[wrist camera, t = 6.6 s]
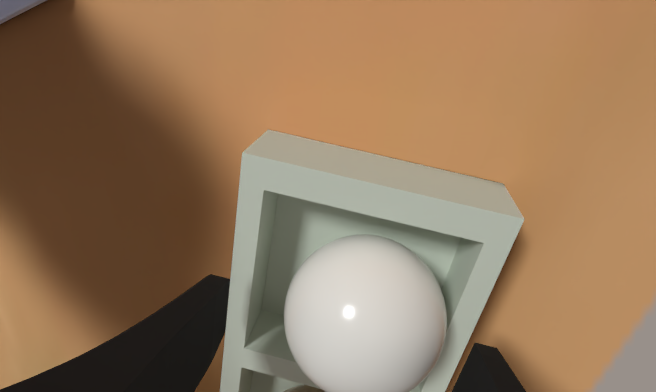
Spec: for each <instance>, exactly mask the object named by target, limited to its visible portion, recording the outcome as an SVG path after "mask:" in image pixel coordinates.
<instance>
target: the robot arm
mask: <svg viewBox="0 0 656 392" xmlns="http://www.w3.org/2000/svg"><path fill="white" fill-rule="evenodd" d="M45 1H47V0H0V24H1V23H3V22H5V21H7V20H9V19H11V18H13V17H15V16H17V15H19V14H21V13H23V12H25V11H27V10H29V9H31V8H33V7H35V6H37V5H39V4H41V3H43V2H45ZM229 287H230V279H227V278H223V277H219V276H215V275H212V274H210V275H208V276H207V277H205V278H204V279H202V280H201V281H200V282H198V283H197V284H195V285H194V286H193V287H191V288H190V289H189V290H187V291H186V292H184V293H183V294H181V295H180V296H179V297H177V298H176V299H174V300H173V301H171V302H170V303H168V304H167V305H165V306H164V307H163V308H161V309H160V310H158V311H157V312H155V313H154V314H152V315H150V316H149V317H147V318H146V319H144V320H143V321H141V322H139V323H138V324H136V325H134V326H133V327H131V328H129V329H128V330H126V331H124V332H123V333H121V334H119V335H118V336H116V337H114V338H112V339H111V340H109V341H107V342H105V343H103V344H101V345H100V346H98V347H96V348H94V349H92V350H90V351H88V352H86V353H84V354H82V355H80V356H78V357H76V358H74V359H72V360H70V361H67V362H65V363H63V364H61V365H59V366H56V367H54V368H52V369H49V370H47V371H45V372H43V373H40V374H38V375H36V376H34V377H31V378H29V379H26V380H24V381H21V382H19V383H16V384H14V385H11V386H9V387H6V388H3V389H1V390H0V392H194V391H195V389H196V388H197V386H198V384H199V383H200V381H201V379H202V378H203V376H204V374H205V372H206V371H207V369H208V367H209V366H210V364H211V362H212V360H213V358H214V355H215V353H216V351H217V349H218V347H219V344H220V342H221V340H222V338H223V335H224V333H225V330H226V319H227V309H228V298H229ZM452 392H526V391H525V389H524V388H523V386H522V385H521V383H520V382H519V381H518V379H517V378H516V376H515V374H514V373H513V371H512V370H511V368H510V367H509V365H508V364H507V362H506V361H505V359H504V358H503V356H502V355H501V354H500V352H499V351H498V349H497V348H494V347H490V346H486V345H482V344H478V343H475V344H474V346H473V348H472V350H471V352H470V354H469V356H468V358H467V361H466V363H465V365H464V367H463V369H462V371H461V373H460V375H459V378H458V380H457V382H456V384H455V386H454V388H453V390H452Z"/></svg>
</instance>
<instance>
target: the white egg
mask: <svg viewBox="0 0 656 392" xmlns="http://www.w3.org/2000/svg"><path fill="white" fill-rule="evenodd" d="M284 327H285V333H286V338H287V342H288V345H289V348H290V350H291V353H292V355H293V357H294V359H295V361H296V362H297V364H298V365H299V367H300V368H301V370H302V371H303V373H304V374H305V375H306V376H307V377H308V378H309V379H310V380H311V381H312V382H313V383H314V384H315V385H317V386H318V387H319V388H320V389H322V390H324V391H325V392H409V391H411V390H412V389H414V388H415V387H416V386H417V385H419V384H420V383H421V382H422V381H423V380H424V379H425V378H426V377H427V376H428V374H429V373H430V371H431V370H432V369H433V367H434V366H435V364H436V362H437V360H438V358H439V356H440V354H441V351H442V348H443V345H444V341H445V336H446V330H447V312H446V307H445V301H444V297H443V294H442V291H441V289H440V286H439V283H438V281H437V280H436V278H435V276H434V275H433V273H432V271H431V270H430V268H429V267H428V266H427V265H426V264H425V262H424V261H423V260H422V259H421V258H420V257H419V256H418V255H417V254H415V253H414V252H413V251H412V250H410V249H409V248H407V247H406V246H404V245H403V244H401V243H398V242H396V241H394V240H392V239H389V238H386V237H382V236H377V235H370V234H358V235H350V236H345V237H341V238H338V239H335V240H333V241H330V242H328V243H326V244H325V245H323V246H321V247H320V248H318V249H317V250H315V251H314V252H313V253H312V254H311V255H310V256H309V257H308V258H307V259H306V260H305V261H304V262H303V263H302V265H301V266H300V267H299V269H298V270H297V272H296V274H295V275H294V277H293V279H292V281H291V284H290V286H289V289H288V292H287V296H286V299H285V307H284Z"/></svg>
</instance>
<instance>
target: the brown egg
mask: <svg viewBox="0 0 656 392" xmlns="http://www.w3.org/2000/svg"><path fill="white" fill-rule="evenodd" d="M283 392H325V391H324V390H322V389H319V388H315V387H312V386H308V385H298V386H295V387H292V388H289V389H287V390H285V391H283Z"/></svg>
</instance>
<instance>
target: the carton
mask: <svg viewBox="0 0 656 392" xmlns="http://www.w3.org/2000/svg"><path fill="white" fill-rule="evenodd" d="M523 221H524V217H523V216H522V214H521V212H520V211H519V209H518V207H517V206H516V204H515V202H514V201H513V199H512V197H511V196H510V194H509V192H508V191H507V189H506V187H505V186H504V184H502V183H498V182H494V181H489V180H485V179H481V178H476V177H472V176H468V175H463V174H459V173H455V172H450V171H446V170H442V169H437V168H433V167H429V166H424V165H420V164H416V163H411V162H407V161H402V160H398V159H394V158H389V157H385V156H381V155H376V154H372V153H368V152H363V151H359V150H355V149H350V148H346V147H342V146H337V145H333V144H329V143H324V142H320V141H316V140H311V139H307V138H303V137H298V136H294V135H290V134H285V133H281V132H277V131H272V130H267V131H266V132H265V133H264V134H263V135H262V136H260V137H259V138H258V139H257V140H256V141H255V142H254V143H253V144H251V145H250V146H249V147H248V148H247V149H246V150H245V151H244V152H242V161H241V172H240V182H239V193H238V204H237V214H236V225H235V235H234V246H233V257H232V267H231V278H230V288H229V299H228V309H227V320H226V331H225V341H224V352H223V362H222V373H221V384H220V392H283V391H285V390H287V389H289V388H292V387H295V386H298V385H308V386H312V387H315V388H319V387H318V386H317V385H315V384H314V383H313V382H312V381H311V380H310V379H309V378H308V377H307V376H306V375H305V374H304V373H303V371H302V370H301V368H300V367H299V365H298V364H297V362H296V361H295V359H294V357H293V355H292V353H291V350H290V348H289V345H288V342H287V338H286V333H285V327H284V307H285V299H286V296H287V292H288V289H289V286H290V284H291V281H292V279H293V277H294V275H295V274H296V272H297V270H298V269H299V267H300V266H301V265H302V263H303V262H304V261H305V260H306V259H307V258H308V257H309V256H310V255H311V254H312V253H313V252H314V251H315V250H317V249H318V248H320V247H321V246H323V245H325V244H326V243H328V242H330V241H333V240H335V239H338V238H341V237H345V236H350V235H358V234H370V235H377V236H382V237H386V238H389V239H392V240H394V241H396V242H398V243H401V244H403V245H404V246H406V247H407V248H409V249H410V250H412V251H413V252H414V253H415V254H417V255H418V256H419V257H420V258H421V259H422V260H423V261H424V262H425V264H426V265H427V266H428V267H429V268H430V270H431V271H432V273H433V275H434V276H435V278H436V280H437V281H438V283H439V286H440V289H441V291H442V294H443V297H444V301H445V307H446V312H447V330H446V336H445V341H444V345H443V348H442V351H441V354H440V356H439V358H438V360H437V362H436V364H435V366H434V367H433V369H432V370H431V371H430V373H429V374H428V376H427V377H426V378H425V379H424V380H423V381H422V382H421V383H420V384H419V385H417V386H416V387H415V388H414V389H412V390H411V391H409V392H445V391H446V389H447V386H448V384H449V382H450V380H451V378H452V376H453V373H454V371H455V369H456V367H457V365H458V363H459V360H460V358H461V356H462V354H463V352H464V350H465V347H466V345H467V343H468V341H469V339H470V337H471V334H472V332H473V330H474V328H475V326H476V323H477V321H478V319H479V317H480V315H481V313H482V310H483V308H484V306H485V304H486V302H487V300H488V297H489V295H490V293H491V291H492V289H493V287H494V284H495V282H496V280H497V278H498V276H499V274H500V271H501V269H502V267H503V265H504V263H505V261H506V258H507V256H508V254H509V252H510V250H511V247H512V245H513V243H514V241H515V239H516V237H517V234H518V232H519V230H520V228H521V226H522V224H523ZM319 389H320V388H319Z"/></svg>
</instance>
